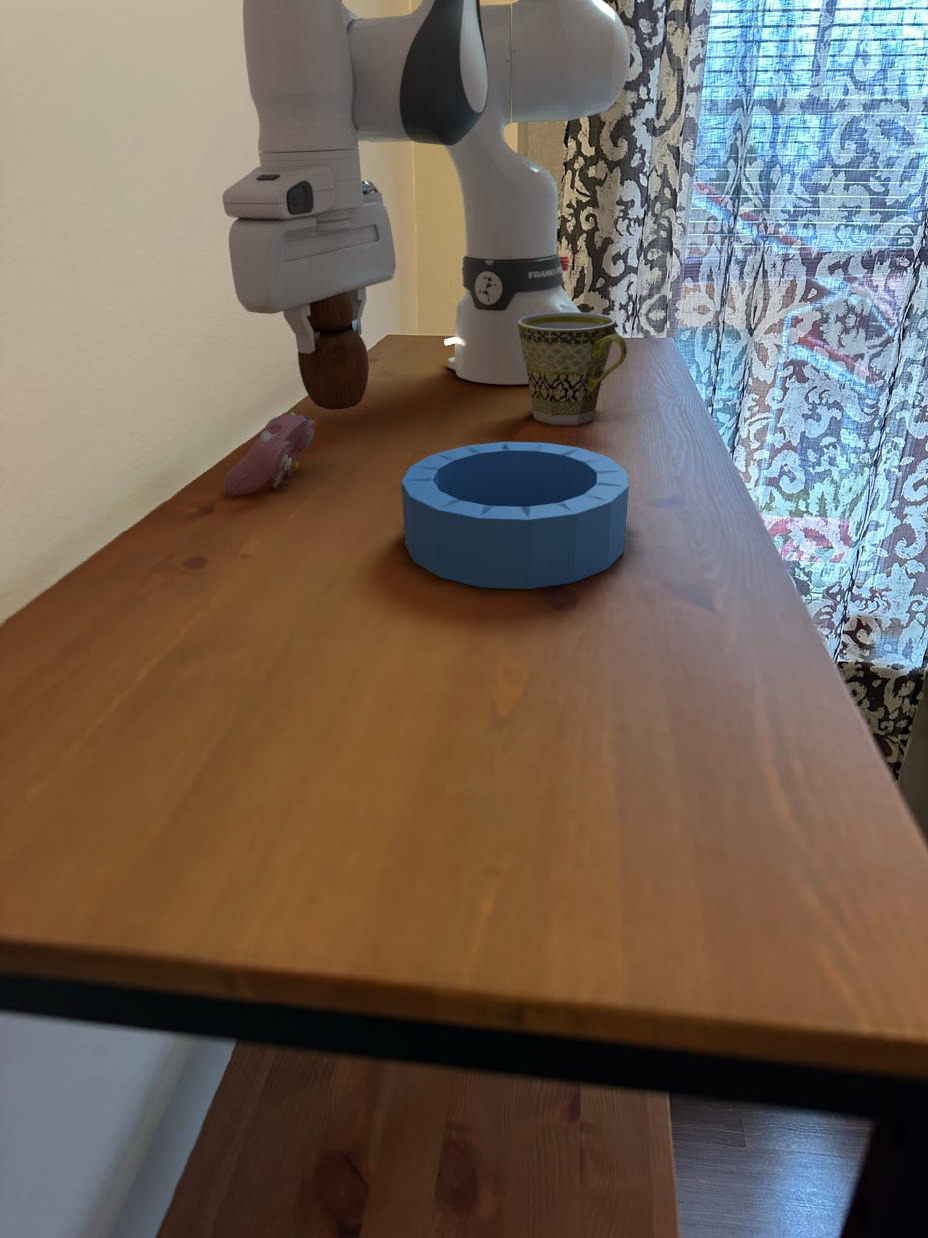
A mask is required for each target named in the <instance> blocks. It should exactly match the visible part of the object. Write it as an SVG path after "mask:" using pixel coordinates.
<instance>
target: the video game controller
mask: <svg viewBox="0 0 928 1238" xmlns="http://www.w3.org/2000/svg"><path fill="white" fill-rule="evenodd" d="M316 429H317V423H316V422H315V421H313V420H312V419H310V418H309V417H308V416H306V415H302V414H299V415H297V414H295V412H293V411H291V412H290V413H289V414H281V415H278V416H276V417H273V418H271V419H270V420H269V421H268V422H267V424H266V426H265V428H264V430H263V432H262V433H261V434H260V435H259V436H258V437H257V438H256V440H255V441H254V443H253V444H252V445H251V447H250V449H249V451H248V452H246V454H245V455H244V456H243V457H242V458H241V459H240V460H239V461H238V462H237V463H235V465H233V466H231V468H230V469H229V470H228V471H227V472H226V475H225V476H224V479H223V487H224V488H223V489H224V490H225V491H226V494H228V495H229V496H232V497H243V496H247V495H250V494H252V493H254V492H256V491H257V490H258V489H259V488H261V487H262V486H264V484H266V485H267V486H269V487H271V488H273V489H276V488H277V487H278V486H279V485H280V483H281V482H282V480H283V478H284V475H286V476H291V475H292V474H293V473H294V471H297V470H298V469H299V467H300V460H301V458H302V456H303V455H304V453H305V451H306V450H307V449H308V448H309V446H310V444H311V441H312V440H313V438H314V435H315V432H316Z"/></svg>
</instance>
